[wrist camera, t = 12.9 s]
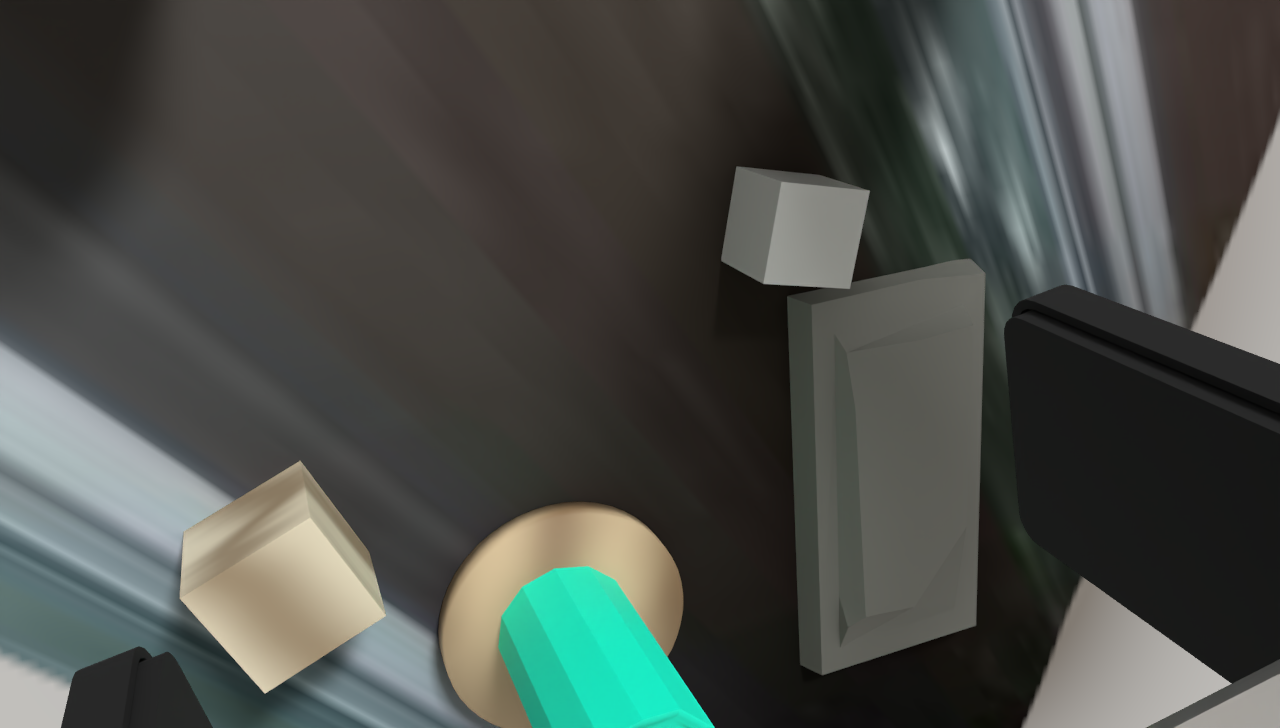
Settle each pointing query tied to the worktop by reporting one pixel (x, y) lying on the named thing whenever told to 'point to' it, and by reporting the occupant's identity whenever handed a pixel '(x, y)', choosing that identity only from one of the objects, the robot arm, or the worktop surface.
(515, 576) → the disc
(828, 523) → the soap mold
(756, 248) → the grey stone block
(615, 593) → the candle
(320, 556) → the maple cube
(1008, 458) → the worktop surface
